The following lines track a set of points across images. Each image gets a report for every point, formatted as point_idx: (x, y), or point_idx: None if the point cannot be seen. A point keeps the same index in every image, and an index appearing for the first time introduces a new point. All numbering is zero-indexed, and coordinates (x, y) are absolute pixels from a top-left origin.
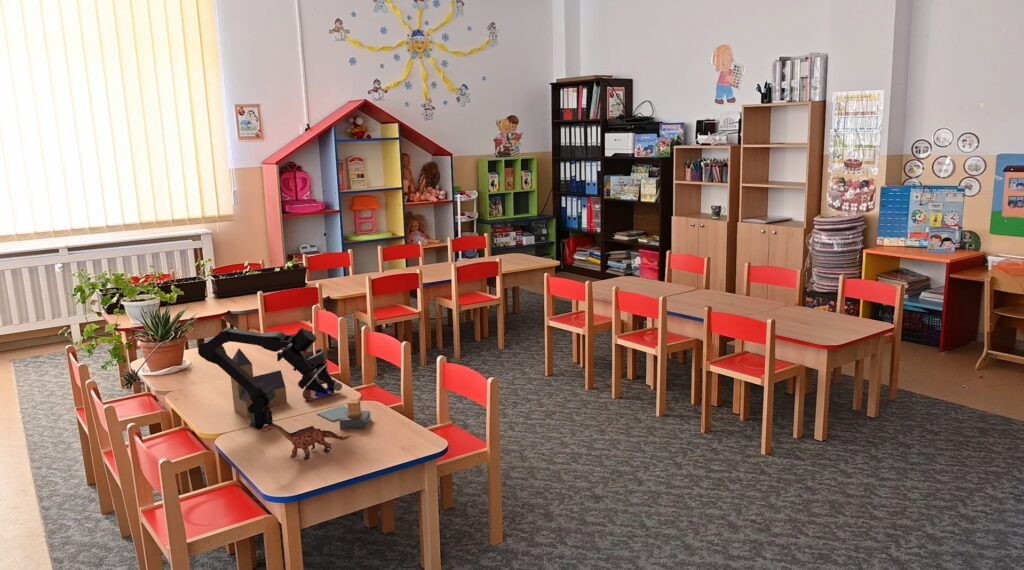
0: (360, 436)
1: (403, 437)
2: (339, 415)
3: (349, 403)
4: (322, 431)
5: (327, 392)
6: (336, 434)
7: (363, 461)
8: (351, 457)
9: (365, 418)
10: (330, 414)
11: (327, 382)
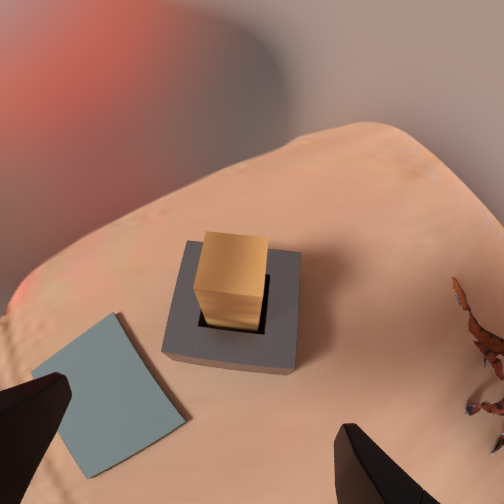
0: (362, 280)
1: (357, 169)
2: (125, 390)
3: (263, 287)
4: (499, 366)
5: (355, 425)
6: (475, 322)
7: (490, 250)
8: (485, 280)
9: (277, 251)
10: (107, 428)
11: (43, 444)
